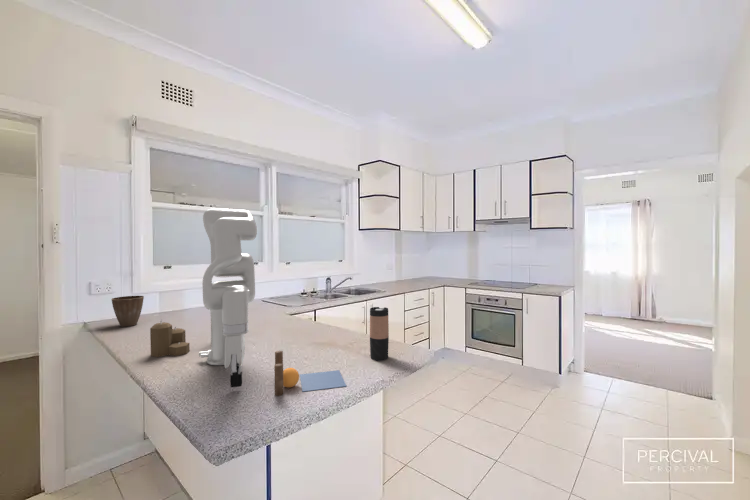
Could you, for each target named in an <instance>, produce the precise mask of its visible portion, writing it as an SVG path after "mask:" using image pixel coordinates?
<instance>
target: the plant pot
mask: <svg viewBox="0 0 750 500" xmlns="http://www.w3.org/2000/svg"><path fill="white" fill-rule="evenodd" d="M144 299H145V296H144V295H126V296H124V295H123V296H117V297H114V298H113V297H112V298H111V304H112V308H113V312H114V314H115V317H116V319H117V321H118V324H119V325H120V327H122V328H127V327H128V328H129V327H134V326H136V325H137V324H138V323H139V320H140V317H141V313H142V309H143V305H144V304H143V303H144Z"/></svg>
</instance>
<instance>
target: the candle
mask: <svg viewBox="0 0 750 500" xmlns="http://www.w3.org/2000/svg"><path fill="white" fill-rule="evenodd" d="M149 331H150V332H149V333H150V337H149V338H150V339H149V340H150V356H151V357H154V358H160V357H165V356H174V357H177V356H182V355H187V354H188V353H189V352H190V351H191V350H190V347H191V346H190V342H187V341H186V329H184V328H179V327H177V326H174V328H173V325H172V324H171V323H170V322H164V321H163V319H162V318H160V321H159V322H157V323H155V324H153V325H152V326H151V327H150V329H149Z"/></svg>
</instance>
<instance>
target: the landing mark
mask: <svg viewBox="0 0 750 500" xmlns="http://www.w3.org/2000/svg"><path fill="white" fill-rule="evenodd" d="M299 380H300V385H301V386H300V387H301V391H302V393H304V392H314V391H320V390H321V391H322V390H328V389H329V390H330V389H336V388H344V387H347V383H346V382H345V380H344V377H343V376H342V374H341V371H340V370H339V369H337V370H330V371H327V370H326V371H320V372H310V373H309V372H308V373H302V374H301V373H300V374H299Z"/></svg>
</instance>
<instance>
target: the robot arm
mask: <svg viewBox="0 0 750 500" xmlns="http://www.w3.org/2000/svg"><path fill="white" fill-rule="evenodd" d="M202 221H203V226H204V229H205V233H206V235H207V237H208V239H209V242H210V243H209V244H210V264H209V265H208V266H207V268H206V270H205V271H204V274H203V277H202V282H201V283H202V302H203V305H204V308H205V309H207V310H209V314H210V349H208V350H207V351H205V350H204V351H203V350H202V351H198V358H199V357H200V358H207V359H206V364H208V365H211V366H224V368H225V369H228V368H229V367H230V377H229V378H230V379H229V380H230V381H229V382H230V388H237V387H240V388H241V387H242V384H243V372H242V367H243V366H242V365H243V362H244V359H245V350H246V349H245V348H246V347H245V345H246V344H245V343H246V342H245V337H246V335H245V334H247V333H249V303H252V302H254V300H255V297H256V278H255V275H256V274H255V273H256V271H255V263H254V258H253V256H252V255H251V254H249V253H243V252H242V241H254V240H255V239H256V237H257V235H258V229H257V228H258V226H257V222H256V221H255V217H253V215H252V213H251V212H250V210H246V209H236V208H234V209H233V208H230V209H229V208H210V209H207V210H205V211H204V212H203V215H202ZM214 277H216V278H237V277H238V278H239V277H240V278H242V279H238V280H237V279H235V280H233V279H232V280H231V279H230V280H218V281H215V282H212V281H213V278H214Z"/></svg>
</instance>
